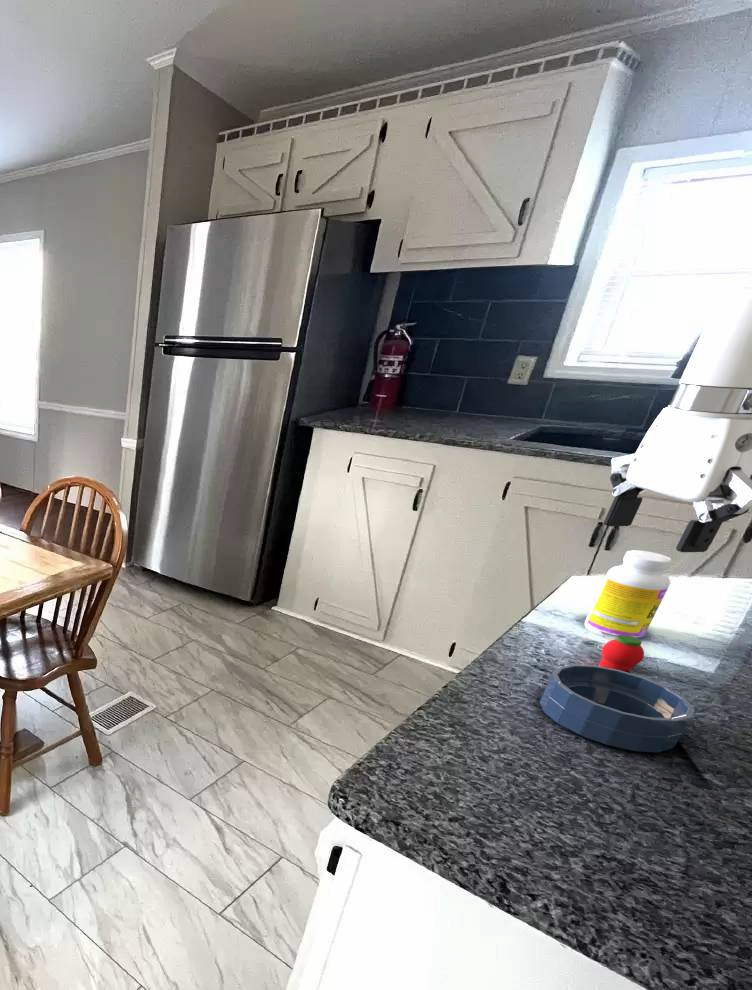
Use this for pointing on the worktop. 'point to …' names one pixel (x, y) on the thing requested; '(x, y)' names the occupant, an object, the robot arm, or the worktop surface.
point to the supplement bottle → (630, 595)
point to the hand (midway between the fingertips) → (651, 537)
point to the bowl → (616, 707)
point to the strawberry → (622, 653)
